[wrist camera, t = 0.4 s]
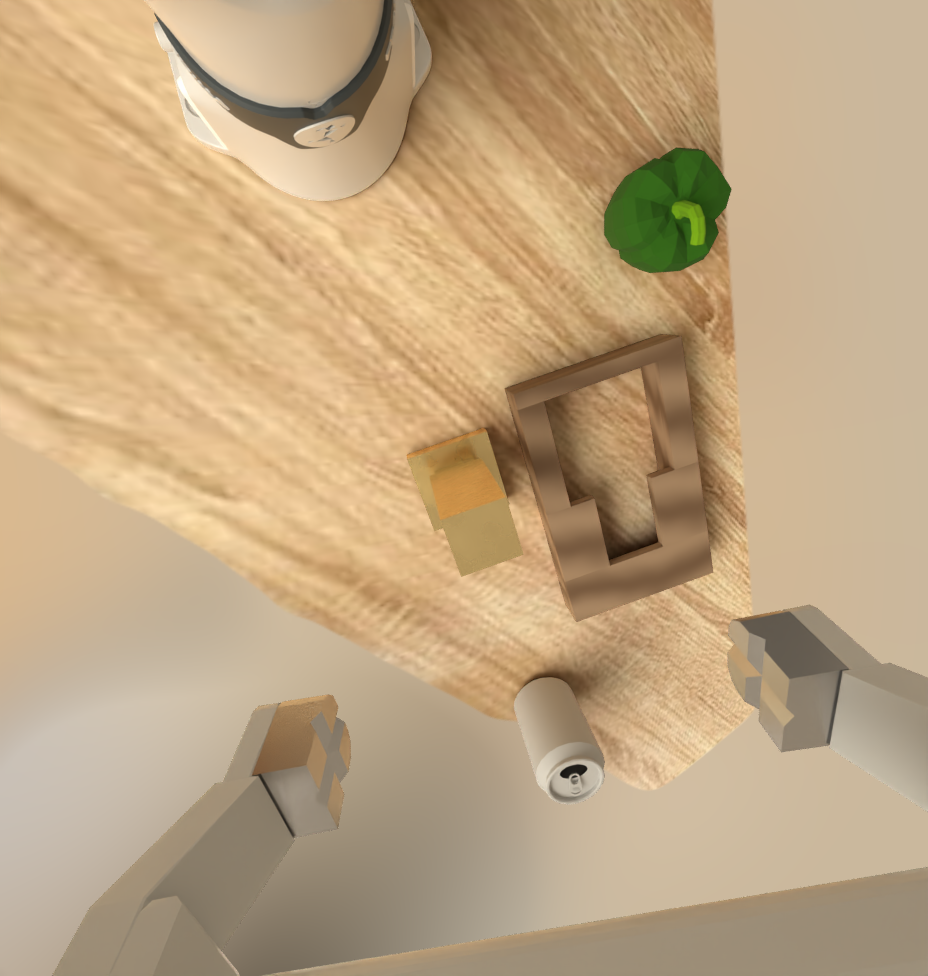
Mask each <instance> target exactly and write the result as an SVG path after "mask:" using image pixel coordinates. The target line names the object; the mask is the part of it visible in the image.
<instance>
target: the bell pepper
mask: <svg viewBox="0 0 928 976" xmlns="http://www.w3.org/2000/svg"><path fill="white" fill-rule="evenodd" d="M730 192H731V188H730V186H729V184H728V183H727V181H726V180H725V178H724V176H723V175H722V173H721V172H720V170H719V169H718V167H717V166H716V165H715V164H714V162H713V161H712V160H711V159H710V158H709V156H708V155H707V154H706V153H705V152H704V151H702V150H699V149H688V148H675V149H673V150H672V151H670V152H668V153H667V154H665V155H663V156H662V157H661V158H660V159H656V158H654V159H653V160H651V161H650V162H648V163H646V164H645V165H643V166H642V167H640V168H639V169H637V170H635V171H634V172H632V173H631V174H629V175H628V176H626V177H625V178H624V180H623V181H622V182H621V183H620V185H619V186H618V187H617V189H616V191H615V192H614V194H613V196H612V198H611V200H610V203H609V205H608V207H607V209H606V211H605V214H604V235H605V237H606V238H607V240H608V242H609V244H610V245H611V247H612V248H614V249H617V250H619V254H620V258H621V259H622V260H624V261H625V262H627V263H628V264H630V265H631V266H633V267H635V268H637V269H639V270H642V271H645V272H649V273H656V272H670V271H680V270H682V269H684V268H686V267H688V266H690V265H692V264H694V263H696V262H698V261H700V260H703V259H704V257H705V256H706V255H707V254H708V253H709V251H710V249H711V247H712V245H713V243H714V241H715V239H716V237H717V235H718V233H719V232H718V229H717V225H716V222H715V219H716V218H717V217H718V216H719V215H720V214H721V212H722V211H723V210H724V209H725V208H726V206H727V202H728V199H729V196H730Z"/></svg>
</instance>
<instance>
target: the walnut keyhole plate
mask: <svg viewBox="0 0 928 976" xmlns="http://www.w3.org/2000/svg"><path fill="white" fill-rule="evenodd" d="M640 367H641V370H642V376H643V382H644V388H645V394H646V400H647V406H648V412H649V418H650V423H651V429H652V435H653V441H654V447H655V453H656V459H657V465H658V471H656V472H653V473H651V474H648V475H646V476H647V482H648V487H649V493H650V498H651V504H652V509H653V515H654V520H655V526H656V531H657V537H658V543H655V544H653V545H650V546H647V547H644V548H641V549H639V550H636V551H633V552H630V553H628V554H625V555H622V556H619V557H616V558H614V559H611V560H609V559H608V555H607V550H606V546H605V542H604V537H603V533H602V529H601V524H600V520H599V516H598V511H597V507H596V503H595V498H594V497H592V496H591V495H589V496H586V497H583V498H580V499H577V500H575V501H572V502H569V498H568V494H567V490H566V486H565V482H564V478H563V474H562V470H561V466H560V462H559V458H558V454H557V450H556V446H555V442H554V438H553V434H552V431H551V427H550V423H549V419H548V415H547V411H546V407H545V403H544V401H546V400H549V399H552V398H555V397H557V396H560V395H563V394H566V393H569V392H572V391H575V390H577V389H580V388H583V387H586V386H589V385H592V384H595V383H598V382H600V381H603V380H606V379H609V378H612V377H615V376H618V375H620V374H623V373H626V372H629V371H632V370H635V369H638V368H640ZM505 391H506V394H507V398H508V402H509V405H510V409H511V412H512V416H513V419H514V423H515V426H516V430H517V434H518V437H519V441H520V444H521V448H522V451H523V455H524V458H525V462H526V466H527V469H528V473H529V476H530V480H531V483H532V487H533V490H534V494H535V498H536V501H537V505H538V508H539V512H540V515H541V519H542V522H543V526H544V530H545V533H546V537H547V540H548V544H549V547H550V551H551V554H552V558H553V562H554V565H555V569H556V572H557V576H558V579H559V583H560V586H561V590H562V594H563V597H564V601H565V604H566V606H567V607H568V609H569V611H570V612H571V614H572V616H573V617H574V619H575V621H576V622H578V621H581V620H583V619H586V618H589V617H592V616H595V615H597V614H600V613H603V612H606V611H608V610H611V609H614V608H617V607H619V606H622V605H625V604H628V603H630V602H633V601H636V600H639V599H641V598H644V597H647V596H650V595H653V594H655V593H658V592H661V591H664V590H666V589H669V588H672V587H675V586H677V585H680V584H683V583H686V582H688V581H691V580H694V579H697V578H699V577H702V576H705V575H708V574H711V573H713V566H712V559H711V552H710V544H709V537H708V529H707V522H706V515H705V507H704V500H703V492H702V485H701V477H700V470H699V463H698V455H697V448H696V440H695V433H694V425H693V418H692V411H691V403H690V396H689V388H688V381H687V374H686V366H685V359H684V351H683V344H682V336H676V335H664V334H660V335H657V336H655V337H652V338H649V339H646V340H643V341H640V342H637V343H634V344H632V345H629V346H626V347H623V348H620V349H617V350H614V351H611V352H608V353H606V354H603V355H600V356H597V357H594V358H591V359H588V360H585V361H583V362H580V363H577V364H574V365H571V366H568V367H565V368H562V369H560V370H557V371H554V372H551V373H548V374H545V375H542V376H539V377H537V378H534V379H531V380H528V381H525V382H522V383H519V384H516V385H514V386H511V387H508V388H505Z"/></svg>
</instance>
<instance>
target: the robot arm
mask: <svg viewBox="0 0 928 976" xmlns="http://www.w3.org/2000/svg"><path fill="white" fill-rule="evenodd" d="M144 2H145V3H146V4H147V5H148V6H149V7H150V8H151V9H152V10H153V12H154V14H155V16H156V18H157V20H158V22H154V30H155V33H156V36H157V39H158V41H159V43H160V45H161V47H162V49H163V50H164V51H165V52H167V53H168V57H169V61H170V65H171V68H172V72H173V76H174V80H175V84H176V87H177V91H178V95H179V99H180V102H181V106H182V110H183V114H184V118H185V121H186V124H187V127H188V129H189V131H190V132H191V134H192V135H193V137H194V138H195V139H196V140H197V141H198V142H199V143H201V144H202V145H204V146H206V147H207V148H210V149H212V150H215V151H217V152H220V153H223V154H226V155H229V156H232V157H235V158H237V159H238V160H240V161H241V162H243V163H244V164H245V165H247V166H248V167H249V168H250V169H251V170H252V171H254V172H255V173H256V174H257V175H258V176H260V177H261V178H262V179H264V180H265V181H266V182H268V183H269V184H271V185H272V186H274V187H276V188H277V189H279V190H281V191H283V192H285V193H288V194H290V195H293V196H296V197H299V198H303V199H308V200H314V201H332V200H339V199H343V198H347V197H350V196H352V195H355V194H357V193H359V192H361V191H363V190H364V189H366V188H368V187H369V186H370V185H372V184H373V183H374V182H375V181H377V180H378V179H379V178H380V177H381V176H382V174H383V173H384V172H385V171H386V170H387V168H388V167H389V166H390V164H391V163H392V161H393V159H394V158H395V156H396V154H397V152H398V149H399V147H400V145H401V142H402V139H403V136H404V132H405V128H406V123H407V118H408V113H409V109H410V105H411V102H412V99H413V98H414V96H415V95H416V93H417V92H418V90H419V89H420V87H421V86H422V84H423V83H424V81H425V79H426V78H427V76H428V74H429V71H430V69H431V65H432V53H431V47H430V44H429V42H428V39H427V37H426V35H425V33H424V30H423V28H422V26H421V24H420V21H419V19H418V17H417V15H416V12H415V10H414V8H413V6H412V3H411V1H410V0H144ZM728 636H729V637H730V638H731V640H732V641H733V642H734V643H735V644H734V645H733V647H732V648H731V649H730V650H729V652H728V668H729V672H730V676H731V679H732V681H733V683H734V685H735V687H736V689H737V691H738V692H739V694H740V695H741V697H742V698H743V700H744V701H745V702H747V703H748V704H750V705H752V706H754V707H756V708H758V709H759V722H760V724H761V725H762V726H763V728H764V729H765V730H766V732H767V733H768V735H769V736H770V737H771V739H772V740H773V742H774V743H775V744H776V746H777V747H778V749H779V750H780V751H781V752H785V751H792V750H800V749H806V748H813V747H821V746H828V745H830V746H829V748H830V749H832V750H833V751H835V752H837V753H838V754H840V755H841V756H843V757H844V758H846V759H847V760H849V761H850V762H852V763H854V764H855V765H856V766H858V767H859V768H861V769H863V770H864V771H866V772H867V773H869V774H870V775H872V776H873V777H875V778H876V779H878V780H880V781H881V782H882V783H884V784H886V785H887V786H889V787H890V788H892V789H893V790H895V791H896V792H898V793H900V794H901V795H902V796H904V797H906V798H907V799H909V800H910V801H912V802H913V803H915V804H916V805H918V806H919V807H921V808H923V809H924V810H925V811H927V812H928V678H927V677H925V676H922V675H920V674H917V673H915V672H912V671H910V670H907V669H905V668H902V667H899V666H896V665H894V664H892V663H886V664H881V663H879V662H878V661H877V660H876V659H875V658H874V657H873V656H872V655H870V654H869V653H868V652H867V651H866V650H865V649H864V648H862V647H861V646H860V645H859V644H858V643H857V642H856V641H854V640H853V639H852V638H851V637H850V636H849V635H847V634H846V633H845V632H844V631H843V630H842V629H841V628H840V627H838V626H837V625H836V624H835V623H834V622H833V621H831V620H830V619H829V618H828V617H827V616H826V615H825V614H824V613H822V612H821V611H820V610H819V609H818V608H816V607H814V606H811V605H806V606H801V607H796V608H790V609H786V610H783V611H775V612H770V613H765V614H760V615H755V616H750V617H744V618H739V619H734V620H732V621H731V623H730V625H729V633H728ZM337 711H338V705H337V703H336V701H335V699H334V697H333V695H322V696H316V697H310V698H304V699H297V700H290V701H284V702H282V703H276V704H269V705H262V706H258V707H257V708H256V709H255V710H254V711H253V713H252V715H251V717H250V720H249V722H248V724H247V726H246V729H245V731H244V734H243V736H242V738H241V740H240V743H239V745H238V747H237V750H236V752H235V754H234V757H233V759H232V761H231V764H230V766H229V768H228V771H227V773H226V775H225V778H224V780H223V782H220V783H216V784H214V785H213V786H212V787H211V788H210V789H209V790H208V791H207V792H206V793H205V794H204V795H203V796H202V797H201V798H200V799H199V800H198V801H197V802H196V803H195V804H194V805H193V806H192V807H191V808H190V809H189V810H188V811H187V812H186V813H185V814H184V815H183V816H182V817H181V818H180V819H179V820H178V821H177V822H176V823H175V824H174V825H173V826H172V827H171V828H170V829H169V830H168V831H167V832H166V833H165V834H164V835H163V836H162V837H161V838H160V839H159V840H158V841H157V842H156V843H155V844H154V845H153V846H152V847H151V848H149V849H148V850H147V851H146V852H145V853H144V855H142V856H141V857H140V858H139V859H138V860H137V862H135V864H133V865H132V866H131V867H130V868H129V869H128V870H127V871H126V872H125V873H124V874H123V876H121V877H120V878H119V879H118V880H117V881H116V882H115V883H114V884H113V885H112V886H111V887H110V888H109V889H108V890H107V891H106V892H105V893H104V894H103V895H102V896H101V897H100V898H99V899H98V900H97V901H96V902H95V903H94V904H93V905H92V906H91V907H90V908H89V910H88V912H87V914H86V915H85V917H84V919H83V921H82V923H81V924H80V926H79V928H78V930H77V932H76V933H75V935H74V937H73V939H72V941H71V942H70V944H69V946H68V948H67V950H66V952H65V953H64V955H63V957H62V959H61V960H60V962H59V964H58V966H57V968H56V970H55V971H54V973H53V975H52V976H239V974H238V971H237V970H236V969H235V968H234V966H233V965H232V964H231V963H230V961H229V960H228V959H227V958H226V956H225V955H224V954H223V953H222V950H223V948H224V947H225V945H226V944H227V942H228V941H229V939H230V938H231V936H232V935H233V933H234V932H235V930H236V929H237V927H238V926H239V924H240V923H241V921H242V920H243V918H244V916H245V915H246V914H247V912H248V911H249V909H250V908H251V906H252V905H253V903H254V902H255V900H256V899H257V897H258V896H259V894H260V892H261V891H262V889H263V888H264V886H265V885H266V883H267V882H268V880H269V879H270V877H271V876H272V874H273V873H274V871H275V870H276V868H277V867H278V865H279V864H280V862H281V861H282V859H283V858H284V856H285V855H286V853H287V851H288V850H289V849H290V847H291V846H292V844H293V843H294V838H297V837H302V836H307V835H311V834H317V833H321V832H326V831H330V830H336V829H338V826H339V820H340V815H341V809H342V804H343V799H344V792H343V790H342V788H341V785H340V782H341V781H342V779H343V778H344V777H345V775H346V774H347V773H348V771H349V765H350V759H351V744H350V737H349V732H348V729H347V727H346V724H345V722H344V721H342V720H340V719H339V718H337V717H336V715H337ZM264 976H928V867H926V868H919V869H913V870H907V871H901V872H895V873H888V874H882V875H876V876H870V877H864V878H858V879H852V880H846V881H840V882H833V883H827V884H822V885H815V886H809V887H803V888H797V889H790V890H785V891H778V892H772V893H766V894H760V895H754V896H747V897H741V898H735V899H729V900H723V901H717V902H710V903H705V904H699V905H692V906H687V907H680V908H674V909H667V910H661V911H655V912H649V913H643V914H636V915H631V916H624V917H618V918H612V919H607V920H600V921H594V922H588V923H581V924H575V925H569V926H563V927H557V928H551V929H545V930H540V931H533V932H527V933H521V934H515V935H508V936H502V937H496V938H491V939H484V940H478V941H472V942H466V943H460V944H454V945H447V946H441V947H435V948H430V949H423V950H417V951H411V952H405V953H398V954H392V955H386V956H380V957H374V958H368V959H362V960H356V961H350V962H344V963H338V964H331V965H325V966H319V967H313V968H307V969H301V970H295V971H289V972H282V973H277V974H270V975H264Z"/></svg>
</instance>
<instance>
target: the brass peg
mask: <svg viewBox="0 0 928 976" xmlns="http://www.w3.org/2000/svg"><path fill="white" fill-rule="evenodd" d="M407 460H408V463H409V465H410V468H411V470H412V473H413V476H414V478H415V481H416V484H417V486H418V489H419V491H420V494H421V497H422V499H423V502H424V505H425V507H426V510H427V512H428V515H429V518H430V520H431V523H432V526H433V528H434V531H436V530H439V529H441V528H443V529H444V531H445V534H446V537H447V539H448V542H449V545H450V547H451V550H452V553H453V555H454V558H455V561H456V564H457V566H458V569H459V572H460V574H461V577H462V576H465V575H468V574H470V573H473V572H476V571H479V570H482V569H484V568H487V567H490V566H493V565H496V564H498V563H501V562H504V561H507V560H510V559H512V558H515V557H518V556H521V555H523V551H522V548H521V545H520V542H519V538H518V535H517V532H516V529H515V525H514V522H513V519H512V515H511V512H510V509H509V506H508V505H509V502H508V498H507V495H506V492H505V489H504V485H503V482H502V479H501V476H500V472H499V469H498V466H497V462H496V459H495V456H494V453H493V449H492V446H491V443H490V440H489V436H488V433H487V431H486V430H485V428H482V429H479V430H476V431H474V432H471V433H468V434H465V435H462V436H459V437H456V438H453V439H451V440H448V441H445V442H442V443H439V444H436V445H433V446H431V447H428V448H425V449H422V450H419V451H416V452H413V453H411V454H408V455H407Z"/></svg>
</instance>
